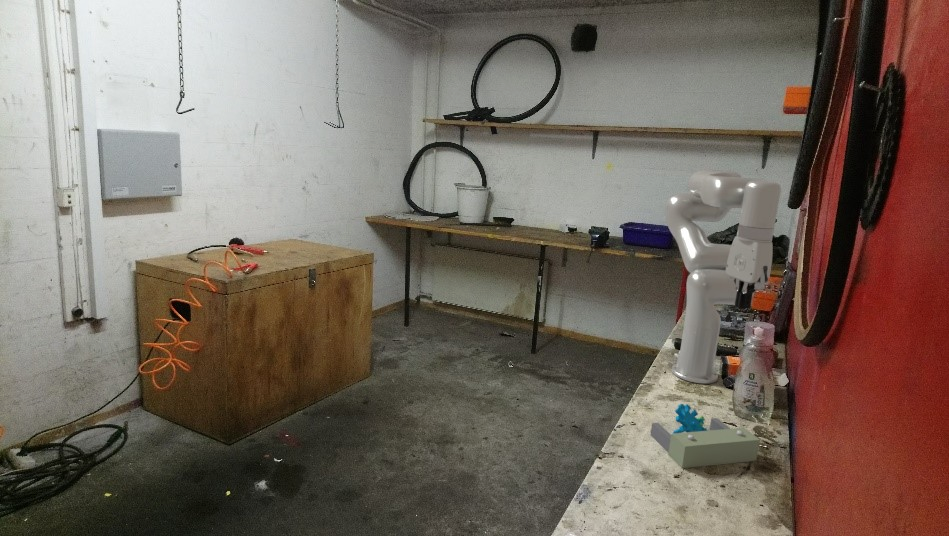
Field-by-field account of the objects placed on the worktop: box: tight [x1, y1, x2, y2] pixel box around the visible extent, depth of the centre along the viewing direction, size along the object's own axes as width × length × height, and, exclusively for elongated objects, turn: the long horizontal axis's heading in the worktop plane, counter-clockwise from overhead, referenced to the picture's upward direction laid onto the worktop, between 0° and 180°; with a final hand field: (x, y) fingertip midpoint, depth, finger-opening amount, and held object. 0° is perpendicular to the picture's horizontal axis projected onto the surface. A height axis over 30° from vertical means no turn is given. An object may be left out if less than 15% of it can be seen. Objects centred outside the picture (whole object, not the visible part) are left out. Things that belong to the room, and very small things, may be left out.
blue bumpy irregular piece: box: [672, 403, 709, 434], centre depth 125 cm, size 11×6×10 cm
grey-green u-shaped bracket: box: [650, 417, 761, 469], centre depth 121 cm, size 13×18×6 cm
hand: (742, 307), depth 134 cm, fingers closed
